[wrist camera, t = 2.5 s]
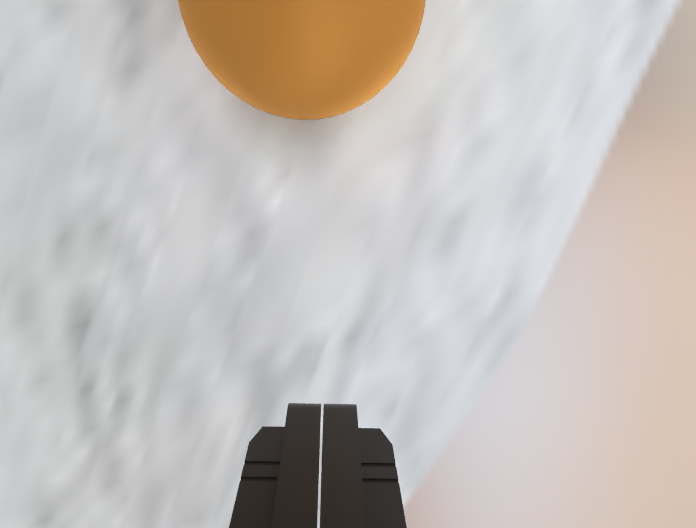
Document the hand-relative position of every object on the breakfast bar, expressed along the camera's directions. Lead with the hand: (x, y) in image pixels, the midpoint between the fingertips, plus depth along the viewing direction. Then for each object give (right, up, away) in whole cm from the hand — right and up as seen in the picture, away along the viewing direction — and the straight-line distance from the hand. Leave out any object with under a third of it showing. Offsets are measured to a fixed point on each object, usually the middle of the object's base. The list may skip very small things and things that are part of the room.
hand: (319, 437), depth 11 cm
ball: (0, +10, 0) cm, 10 cm away
